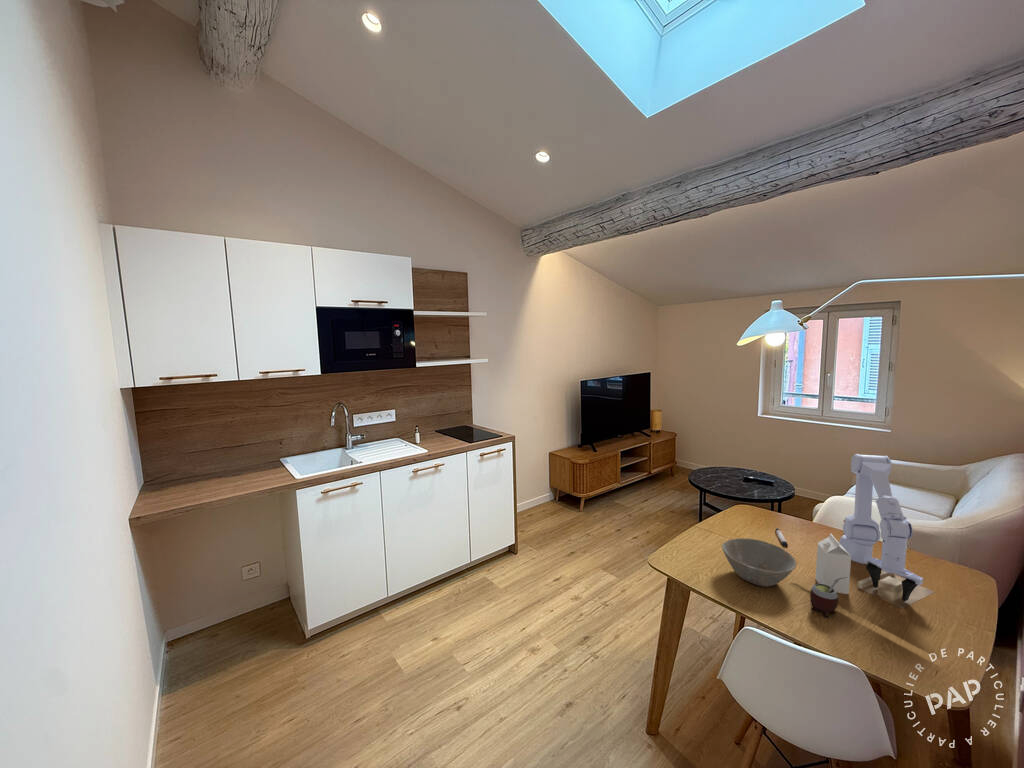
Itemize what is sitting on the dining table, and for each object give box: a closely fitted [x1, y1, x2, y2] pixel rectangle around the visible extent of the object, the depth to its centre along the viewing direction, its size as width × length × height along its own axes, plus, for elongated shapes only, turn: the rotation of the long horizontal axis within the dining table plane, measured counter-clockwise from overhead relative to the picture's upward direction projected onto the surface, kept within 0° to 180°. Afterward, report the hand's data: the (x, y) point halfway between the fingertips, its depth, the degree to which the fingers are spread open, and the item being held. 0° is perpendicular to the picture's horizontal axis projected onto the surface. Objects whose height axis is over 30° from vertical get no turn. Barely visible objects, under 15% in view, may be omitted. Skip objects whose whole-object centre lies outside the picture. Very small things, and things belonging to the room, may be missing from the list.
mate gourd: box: [809, 577, 847, 619], centre depth 127 cm, size 8×8×15 cm
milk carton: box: [815, 533, 852, 595], centre depth 137 cm, size 7×7×19 cm
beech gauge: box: [878, 576, 903, 602], centre depth 132 cm, size 4×6×5 cm, turn 112°
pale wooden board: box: [856, 570, 935, 610], centre depth 135 cm, size 12×20×4 cm, turn 112°
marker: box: [775, 527, 789, 548], centre depth 174 cm, size 15×2×2 cm, turn 158°
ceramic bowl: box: [721, 537, 797, 588], centre depth 145 cm, size 22×23×10 cm
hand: (890, 593), depth 132 cm, fingers open, 7 cm apart
